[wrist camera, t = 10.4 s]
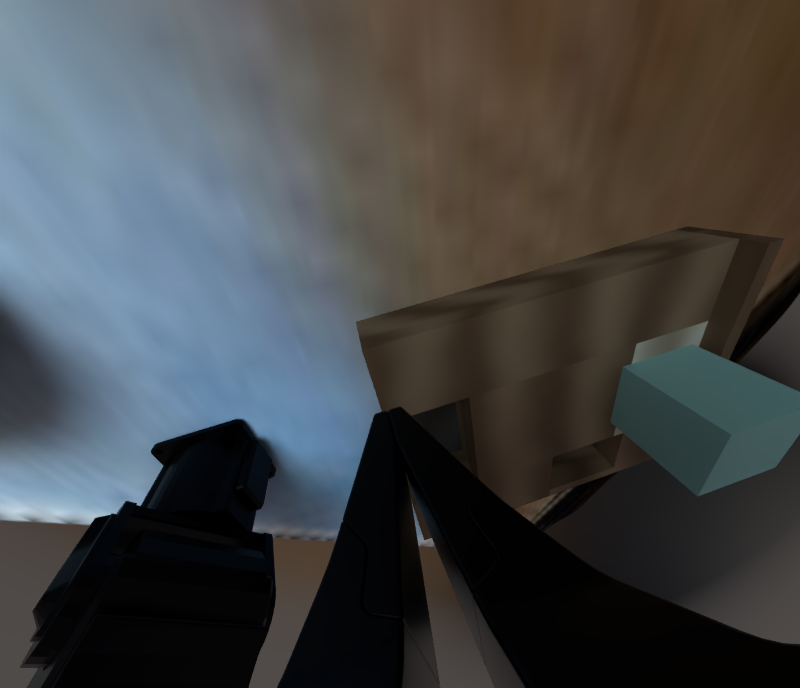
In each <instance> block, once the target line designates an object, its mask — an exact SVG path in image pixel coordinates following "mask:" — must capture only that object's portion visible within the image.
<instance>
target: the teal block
mask: <svg viewBox="0 0 800 688" xmlns="http://www.w3.org/2000/svg"><path fill="white" fill-rule="evenodd" d="M610 422H611V423H612V424H613V425H614V426H616V427H617V428H618V429H619V430H620V431H621V432H623V433H624V434H625V435H626V436H627V437H628V438H630V439H631V440H632V441H633V442H634V443H636V444H637V445H638V446H639V447H640V448H641V449H643V450H644V451H645V452H646V453H647V454H648V455H650V456H651V457H652V458H653V459H654V460H656V461H657V462H658V463H659V464H660V465H662V466H663V467H664V468H665V469H666V470H668V472H670V473H671V474H672V475H673V476H675V477H676V478H677V479H678V480H679V481H680V482H682V483H683V484H684V485H685V486H686V487H687V488H689V489H690V490H691V491H692V492H693V493H694V494H696V495H697V496H700V495H703V494H705V493H708V492H711V491H713V490H716V489H718V488H721V487H724V486H726V485H729V484H732V483H734V482H737V481H740V480H742V479H745V478H748V477H751V476H753V475H756V474H759V473H761V472H764V471H767V470H769V469H772V468H775V467H776V466H777V464H778V463H779V462H780V460H781V459H782V457H783V456H784V454H785V453H786V452H787V450H788V449H789V448H790V446H791V445H792V444H793V442H794V441H795V439H796V438H797V437H798V435H799V434H800V392H798V391H796V390H794V389H792V388H789V387H787V386H785V385H782V384H780V383H778V382H776V381H774V380H771V379H769V378H767V377H764V376H762V375H760V374H758V373H756V372H754V371H751V370H749V369H747V368H745V367H742V366H740V365H738V364H736V363H733V362H731V361H729V360H727V359H724V358H722V357H720V356H718V355H715V354H713V353H711V352H709V351H707V350H704V349H702V348H700V347H698V346H695V345H693V344H691V345H688V346H685V347H682V348H679V349H676V350H673V351H670V352H667V353H663V354H660V355H657V356H654V357H651V358H648V359H645V360H642V361H639V362H636V363H633V364H630V365H627V366H624V367H623V368H622V373H621V377H620V381H619V386H618V390H617V394H616V399H615V403H614V408H613V412H612V416H611V421H610Z"/></svg>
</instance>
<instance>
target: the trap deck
mask: <svg viewBox="0 0 800 688" xmlns="http://www.w3.org/2000/svg"><path fill="white" fill-rule="evenodd" d="M783 240H784V239H781V238H773V237H766V236H758V235H750V234H742V233H734V232H726V231H718V230H710V229H702V228H695V227H685V228H681V229H678V230H674V231H671V232H667V233H664V234H660V235H657V236H654V237H650V238H647V239H643V240H640V241H636V242H633V243H629V244H626V245H622V246H619V247H615V248H612V249H608V250H605V251H601V252H598V253H594V254H591V255H587V256H584V257H580V258H577V259H574V260H570V261H567V262H563V263H560V264H556V265H553V266H549V267H546V268H542V269H539V270H535V271H532V272H528V273H525V274H521V275H518V276H514V277H511V278H507V279H504V280H500V281H497V282H494V283H490V284H487V285H483V286H480V287H476V288H473V289H469V290H466V291H462V292H459V293H455V294H452V295H448V296H445V297H441V298H438V299H434V300H431V301H427V302H424V303H420V304H417V305H414V306H410V307H407V308H403V309H400V310H396V311H393V312H389V313H386V314H382V315H379V316H375V317H372V318H368V319H365V320H361V321H358V322H356V324H357V328H358V333H359V338H360V343H361V347H362V352H363V355H364V358H365V361H366V364H367V367H368V370H369V373H370V376H371V379H372V382H373V385H374V388H375V391H376V394H377V397H378V400H379V403H380V406H381V409H382V412H383V411H389V410H390V409H393V408H396V407H399V406H400V407H402V408H403V409H405V410H406V411H407V412H408V413H409V414H410V415H411V416H412V417H413V418H414V419H415V420H416V421H417V422H418V423H419V424H421V425H422V426H423V427H424V428H425V429H426V430H427V431H428V432H429V433H430V434H431V435H432V436H433V437H434V438H436V439H437V440H438V441H439V442H440V443H441V444H442V445H443V446H444V447H445V448H446V449H447V450H448V451H449V452H451V453H452V454H453V455H454V456H455V457H456V458H457V459H458V460H459V461H460V462H461V463H462V464H463V465H464V466H465V467H467V468H468V469H469V470H470V471H471V472H472V473H473V474H474V476H475V477H477V478H479V479H480V480H481V481H482V482H483V483H484V484H485V485H486V486H487V487H488V488H489V489H491V490H492V491H493V492H494V493H495V494H496V495H497V496H499V497H500V498H501V499H502V500H503V501H504V502H506V503H507V504H508V505H509V506H511V507H512V508H513V509H514V508H516V507H519V506H522V505H525V504H528V503H530V502H533V501H536V500H539V499H542V498H544V497H547V496H550V495H553V494H556V493H558V492H561V491H564V490H567V489H570V488H572V487H575V486H578V485H581V484H584V483H586V482H589V481H592V480H595V479H598V478H600V477H603V476H606V475H609V474H612V473H614V472H617V471H620V470H623V469H625V468H628V467H631V466H634V465H637V464H639V463H642V462H645V461H648V460H651V459H653V458H652V457H651V456H650V455H648V454H647V453H646V452H645V451H644V450H643V449H641V448H640V447H639V446H638V445H637V444H636V443H634V442H633V441H632V440H631V439H630V438H628V437H627V436H626V435H625V434H624V433H623V432H621V431H620V430H619V429H618V428H617V427H616V426H614V425H613V424H612V423H611V422H610V421H611V416H612V412H613V408H614V403H615V399H616V394H617V390H618V386H619V381H620V377H621V373H622V368H623V367H624V366H627V365H630V364H633V363H636V362H639V361H642V360H645V359H648V358H651V357H654V356H657V355H660V354H663V353H667V352H670V351H673V350H676V349H679V348H682V347H685V346H688V345H691V344H693V345H695V346H698V347H700V348H702V349H704V350H707V351H709V352H711V353H713V354H715V355H718V356H720V357H722V358H724V359H727V360H729V358H730V356H731V354H732V352H733V350H734V347H735V345H736V343H737V341H738V339H739V336H740V334H741V332H742V330H743V328H744V326H745V323H746V321H747V319H748V317H749V315H750V312H751V310H752V308H753V306H754V304H755V301H756V299H757V297H758V295H759V293H760V291H761V288H762V286H763V284H764V282H765V280H766V277H767V275H768V273H769V271H770V269H771V267H772V264H773V262H774V260H775V258H776V256H777V253H778V251H779V249H780V247H781V245H782V242H783ZM406 475H407V474H406ZM407 479H408V477H407ZM408 484H409V489H410V495H411V499H412V503H413V507H414V510H415V513H416V516H417V519H418V522H419V525H420V528H421V531H422V534H423V537H424V540H427V539H429V538H432V537H431V534H430V532H429V529H428V527H427V525H426V522H425V520H424V517H423V515H422V513H421V510H420V508H419V505H418V503H417V501H416V498H415V496H414V494H413V491H412V489H411V486H410V483H409V481H408Z"/></svg>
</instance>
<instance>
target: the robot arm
mask: <svg viewBox="0 0 800 688" xmlns="http://www.w3.org/2000/svg"><path fill="white" fill-rule="evenodd" d="M235 426H239V427H235ZM151 453H152V455H153V456H154V457H155V458H156V459H157V460H158V461H159V462H160V463H161V464H162V465H163V468H162V470H161V471H160V473H159V475H158V477H157V478H156V480H155V482H154V484H153V485H152V487H151V489H150V491H149V492H148V494H147V496H146V498H145V499H144V501H143V503H142V505H141V506H138V505H137V503H133V502H129V501H126V502H125V503H124V504H123V506H122V507H121V508H120V510H119V511H118V512H117V514H111V515H107V516H103V517H98V518H95V519H94V521H93V522H92V523H91V525H90V526H89V528H88V529H87V531H86V532H85V534H84V535H83V537H82V538H81V539H80V541H79V542H78V544H77V545H76V547H75V548H74V550H73V551H72V553H71V554H70V556H69V557H68V558H67V560H66V562H65V563H64V564H63V566H62V568H61V569H60V570H59V572H58V573H57V575H56V576H55V578H54V579H53V581H52V582H51V584H50V585H49V587H48V589H47V590H46V591H45V593H44V594H43V596H42V597H41V599H40V600H39V602H38V603H37V605H36V607H35V608H34V610H33V611H32V612H33V616H34V619H35V623H36V627H37V629H36V631H35V633H34V635H33V636H32V638H31V640H30V642H34V643H33V644H32V646H31V648H30V650H29V652H28V653H27V655H26V657H25V659H24V660H23V662H22V664H21V666H20V667H21V668H38V670H37V672H36V673H35V675H34V676H33V678H32V680H31V681H30V683H29V685H28V687H27V688H249V683H250V680H251V677H252V673H253V670H254V667H255V664H256V661H257V657H258V655H259V652H260V650H261V647H262V646H263V643H264V641H265V639H266V636H267V633H268V631H269V627H270V624H271V621H272V616H273V612H274V607H275V599H276V586H275V569H274V553H273V536H272V534H268V533H263V534H261V533H256V532H252V529H253V524H254V520H255V515H256V510H259V509H261V508H262V506H263V504H264V499H265V494H266V489H267V483H268V479H269V478H272V477H274V476H275V472H276V468H275V467H274V465H273V464H272V460H271V458H270V457H269V455H268V454H267V452H266V451H265V450H264V448H263V447H262V445H261V444H260V442H259V441H258V440H256V439H255V437H254V436H253V435H252V433H251V432H250V430H249V429H248V427H247V426H246V424H245V423H244V422H243V421H242V420H238V419H237V420H232V421H229V422H226V423H222V424H219V425H216V426H212V427H209V428H206V429H203V430H199V431H196V432H193V433H189V434H186V435H183V436H180V437H176V438H173V439H170V440H167V441H163V442H160V443H157V444H155V445H154V447H153V448H152V450H151ZM406 474H407V475H406ZM407 477H408V479H407ZM408 481H409V483H410V486H411V489H412V491H413V494H414V496H415V498H416V501H417V503H418V505H419V508H420V510H421V513H422V515H423V517H424V520H425V522H426V525H427V527H428V529H429V532H430V534H431V537H432V539H433V541H434V544H435V546H436V548H437V551H438V553H439V556H440V558H441V560H442V563H443V565H444V567H445V570H446V572H447V574H448V577H449V579H450V582H451V584H452V587H453V589H454V592H455V593H456V596H457V599H458V601H459V603H460V606H461V608H462V611H463V613H464V615H465V618H466V620H467V623H468V625H469V627H470V630H471V632H472V634H473V637H474V639H475V642H476V644H477V647H478V649H479V651H480V654H481V656H482V658H483V661H484V663H485V665H486V667H487V670H488V673H489V675H490V678H491V680H492V682H493V685H494V687H495V688H800V644H787V643H780V642H776V641H771V640H767V639H763V638H760V637H757V636H754V635H751V634H749V633H746V632H743V631H740V630H738V629H735V628H733V627H730V626H728V625H726V624H723V623H721V622H718V621H716V620H713V619H711V618H709V617H706V616H704V615H701V614H699V613H696V612H694V611H692V610H689V609H687V608H684V607H682V606H679V605H677V604H674V603H672V602H670V601H667V600H665V599H662V598H660V597H657V596H655V595H653V594H650V593H648V592H645V591H643V590H640V589H638V588H635V587H633V586H631V585H628V584H626V583H623V582H621V581H619V580H616V579H614V578H612V577H610V576H608V575H606V574H604V573H603V572H601V571H599V570H597V569H596V568H594V567H592V566H591V565H589V564H588V563H586V562H585V561H583V560H582V559H580V558H579V557H578V556H576V555H575V554H573V553H572V552H571V551H569V550H568V549H567V548H565V547H564V546H563V545H561V544H560V543H559V542H557V541H556V540H554V539H553V538H552V537H550V536H549V535H548V534H546V533H545V532H544V531H542V530H541V529H540V528H538V527H537V526H536V525H534V524H533V523H532V522H530V521H529V520H528V519H526V518H525V517H524V516H522V515H521V514H520V513H518V512H517V511H516V510H515V509H513V508H512V507H511V506H509V505H508V504H507V503H506V502H504V501H503V500H502V499H501V498H500V497H499V496H497V495H496V494H495V493H494V492H493V491H492V490H491V489H489V488H488V487H487V486H486V485H485V484H484V483H483V482H482V481H481V480H480V479H479V478H477V477H475V476H474V474H473V473H472V472H471V471H470V470H469V469H468V468H467V467H465V466H464V465H463V464H462V463H461V462H460V461H459V460H458V459H457V458H456V457H455V456H454V455H453V454H452V453H451V452H449V451H448V450H447V449H446V448H445V447H444V446H443V445H442V444H441V443H440V442H439V441H438V440H437V439H436V438H434V437H433V436H432V435H431V434H430V433H429V432H428V431H427V430H426V429H425V428H424V427H423V426H422V425H421V424H419V423H418V422H417V421H416V420H415V419H414V418H413V417H412V416H411V415H410V414H409V413H408V412H407V411H406V410H405V409H403V408H402V407H400V406H399V407H396V408H393V409H390V410H389V411H383V412H380V413H377V414H375V415H374V417H373V421H372V424H371V427H370V431H369V434H368V437H367V441H366V444H365V447H364V450H363V454H362V457H361V460H360V464H359V467H358V470H357V474H356V477H355V480H354V484H353V487H352V490H351V494H350V497H349V500H348V504H347V507H346V510H345V514H344V517H343V521H344V522H342V523H341V526H340V530H339V533H338V536H337V540H336V543H335V546H334V549H333V552H332V555H331V558H330V561H329V563H328V566H327V569H326V571H325V574H324V576H323V579H322V582H321V584H320V587H319V589H318V592H317V594H316V597H315V599H314V601H313V604H312V606H311V609H310V611H309V614H308V616H307V618H306V621H305V623H304V626H303V628H302V631H301V633H300V635H299V638H298V640H297V643H296V645H295V648H294V650H293V652H292V655H291V657H290V660H289V662H288V664H287V667H286V669H285V671H284V674H283V676H282V678H281V680H280V682H279V684H278V687H277V688H440V687H439V676H438V670H437V663H436V657H435V650H434V644H433V638H432V631H431V625H430V618H429V611H428V606H427V599H426V592H425V586H424V579H423V573H422V566H421V560H420V553H419V548H418V540H417V534H416V528H415V521H414V515H413V508H412V502H411V495H410V489H409V484H408Z"/></svg>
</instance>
